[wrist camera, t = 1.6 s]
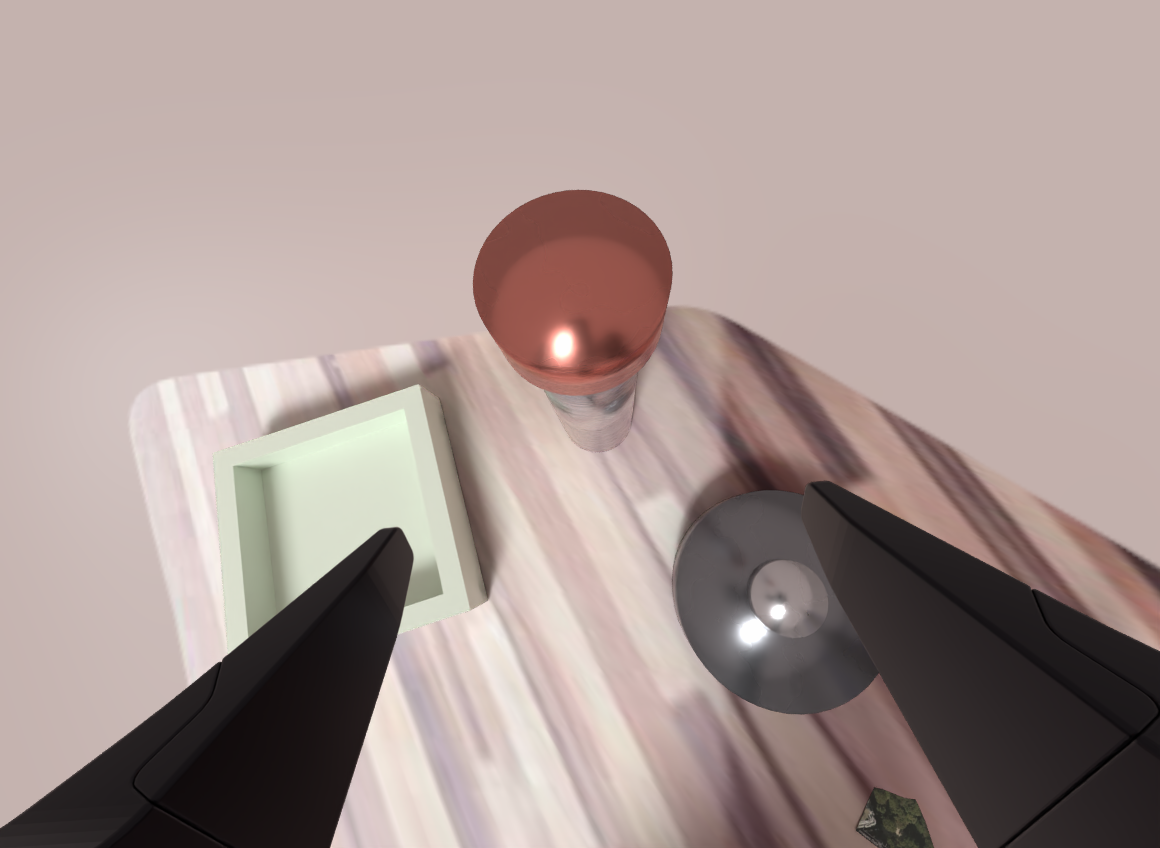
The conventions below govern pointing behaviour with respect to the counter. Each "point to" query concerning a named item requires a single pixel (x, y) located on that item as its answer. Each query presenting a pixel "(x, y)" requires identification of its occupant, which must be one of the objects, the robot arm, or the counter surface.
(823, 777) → the counter surface
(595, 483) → the counter surface
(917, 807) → the eiffel tower figurine
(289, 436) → the tray
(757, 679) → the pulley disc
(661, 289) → the pin
